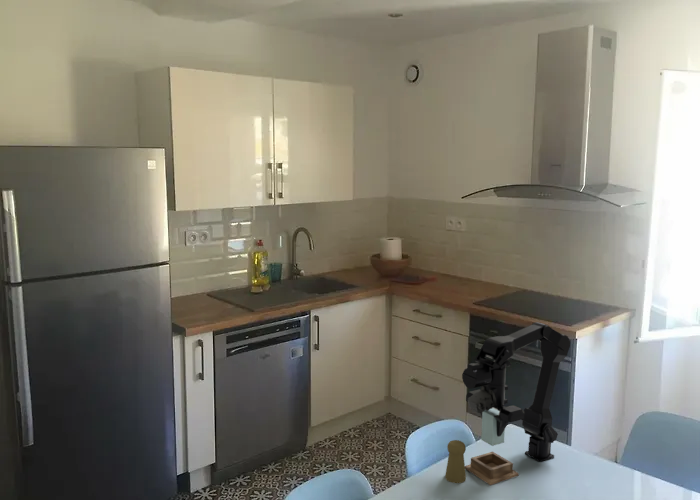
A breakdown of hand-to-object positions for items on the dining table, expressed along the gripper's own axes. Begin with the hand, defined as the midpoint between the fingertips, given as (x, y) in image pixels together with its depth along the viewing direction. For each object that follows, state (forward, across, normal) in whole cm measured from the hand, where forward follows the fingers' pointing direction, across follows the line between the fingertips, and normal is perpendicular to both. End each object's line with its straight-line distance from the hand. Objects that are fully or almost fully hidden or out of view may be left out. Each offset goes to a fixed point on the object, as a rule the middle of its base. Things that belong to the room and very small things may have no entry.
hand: (493, 433), depth 178 cm
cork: (+12, -2, -12) cm, 17 cm away
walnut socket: (+12, 0, 0) cm, 12 cm away
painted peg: (+2, 0, 0) cm, 2 cm away
